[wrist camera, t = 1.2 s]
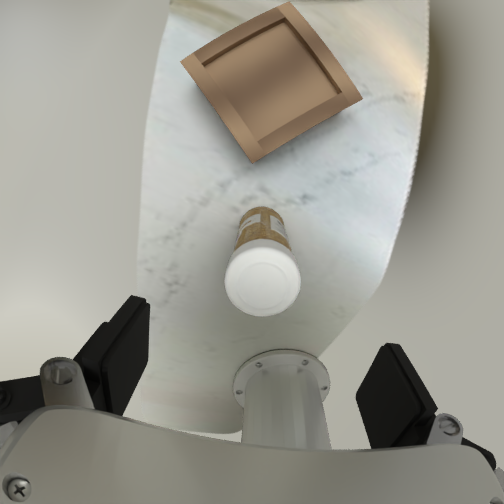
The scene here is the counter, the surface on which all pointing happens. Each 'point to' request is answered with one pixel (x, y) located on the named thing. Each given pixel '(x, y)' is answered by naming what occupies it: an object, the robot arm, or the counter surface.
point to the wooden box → (271, 80)
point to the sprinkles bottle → (262, 266)
